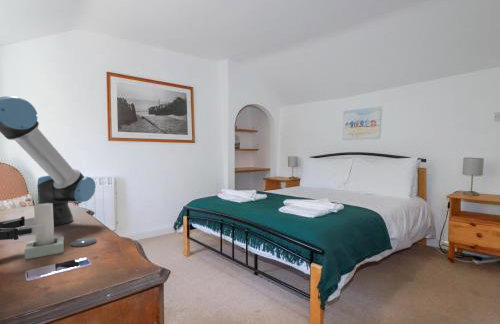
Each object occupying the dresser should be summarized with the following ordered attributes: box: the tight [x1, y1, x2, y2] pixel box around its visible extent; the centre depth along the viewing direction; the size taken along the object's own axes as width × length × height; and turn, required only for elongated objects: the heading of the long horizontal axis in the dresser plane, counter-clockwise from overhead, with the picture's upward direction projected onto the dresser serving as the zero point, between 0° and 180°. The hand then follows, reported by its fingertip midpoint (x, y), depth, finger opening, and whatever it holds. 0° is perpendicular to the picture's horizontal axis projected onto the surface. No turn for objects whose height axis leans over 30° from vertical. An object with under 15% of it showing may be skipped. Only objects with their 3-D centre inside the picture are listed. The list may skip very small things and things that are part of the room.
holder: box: [24, 235, 65, 260], centre depth 92 cm, size 10×10×3 cm
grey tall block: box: [33, 203, 55, 246], centre depth 92 cm, size 5×5×16 cm
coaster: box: [70, 237, 97, 248], centre depth 100 cm, size 8×8×1 cm
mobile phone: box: [24, 256, 92, 282], centre depth 78 cm, size 8×1×15 cm
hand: (47, 223), depth 92 cm, fingers open, 13 cm apart
